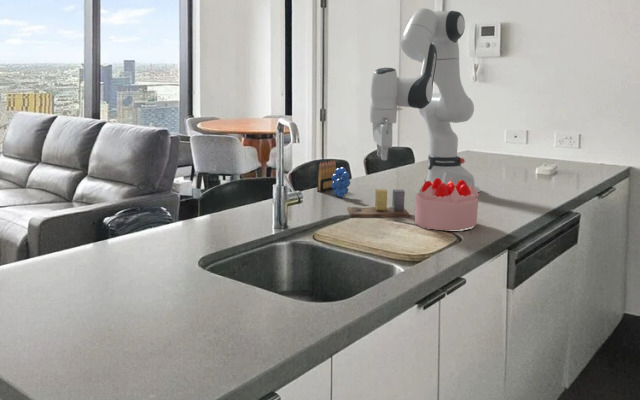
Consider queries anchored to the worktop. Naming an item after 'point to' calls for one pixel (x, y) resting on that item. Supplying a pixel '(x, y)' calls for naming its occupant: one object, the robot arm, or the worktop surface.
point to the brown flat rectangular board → (375, 212)
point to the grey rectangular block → (398, 200)
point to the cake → (446, 205)
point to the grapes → (340, 182)
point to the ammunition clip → (326, 176)
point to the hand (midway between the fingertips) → (381, 158)
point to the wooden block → (381, 199)
